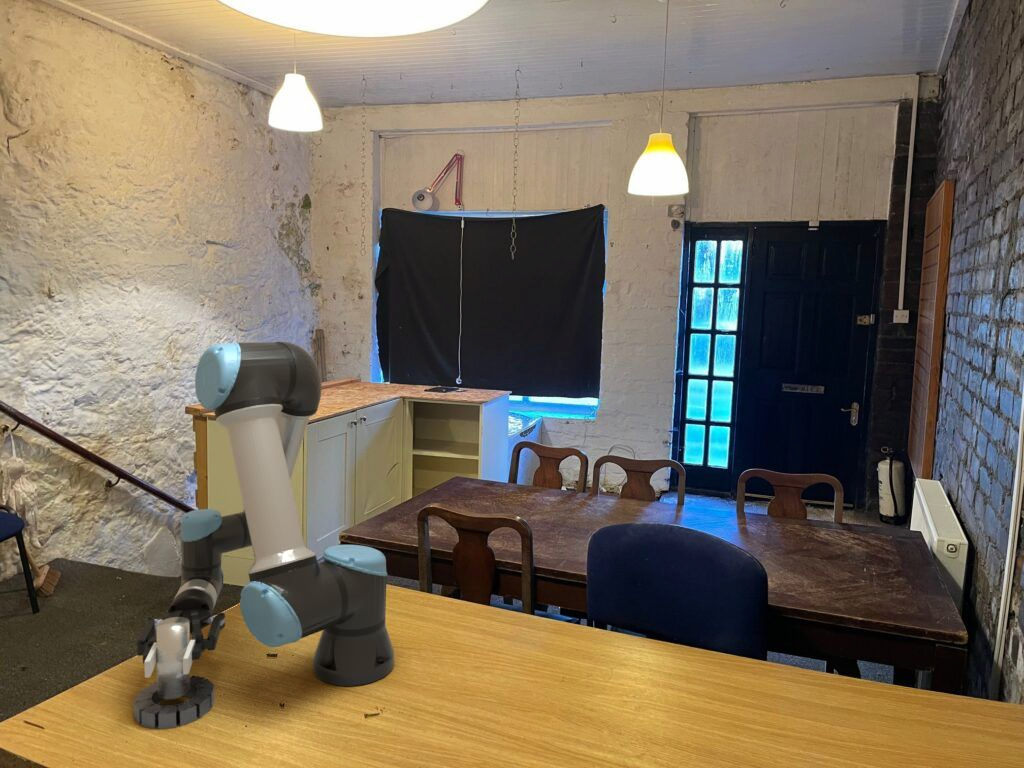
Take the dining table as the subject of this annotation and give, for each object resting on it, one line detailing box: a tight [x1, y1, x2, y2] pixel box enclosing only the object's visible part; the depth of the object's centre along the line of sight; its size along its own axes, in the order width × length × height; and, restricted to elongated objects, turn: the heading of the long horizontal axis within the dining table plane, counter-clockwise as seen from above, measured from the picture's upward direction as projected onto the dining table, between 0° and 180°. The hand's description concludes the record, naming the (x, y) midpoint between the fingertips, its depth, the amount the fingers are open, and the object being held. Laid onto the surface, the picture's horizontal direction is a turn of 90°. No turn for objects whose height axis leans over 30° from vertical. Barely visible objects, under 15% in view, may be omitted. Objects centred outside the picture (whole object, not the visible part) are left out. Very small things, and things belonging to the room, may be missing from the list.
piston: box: [156, 617, 191, 700], centre depth 120 cm, size 5×5×12 cm
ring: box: [133, 675, 215, 730], centre depth 120 cm, size 12×12×2 cm
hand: (166, 667), depth 114 cm, fingers closed on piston, 5 cm apart
